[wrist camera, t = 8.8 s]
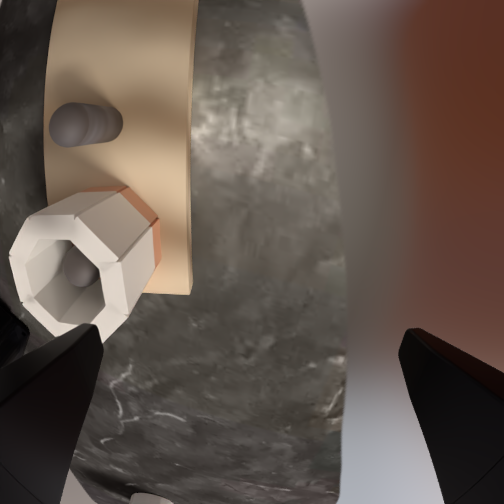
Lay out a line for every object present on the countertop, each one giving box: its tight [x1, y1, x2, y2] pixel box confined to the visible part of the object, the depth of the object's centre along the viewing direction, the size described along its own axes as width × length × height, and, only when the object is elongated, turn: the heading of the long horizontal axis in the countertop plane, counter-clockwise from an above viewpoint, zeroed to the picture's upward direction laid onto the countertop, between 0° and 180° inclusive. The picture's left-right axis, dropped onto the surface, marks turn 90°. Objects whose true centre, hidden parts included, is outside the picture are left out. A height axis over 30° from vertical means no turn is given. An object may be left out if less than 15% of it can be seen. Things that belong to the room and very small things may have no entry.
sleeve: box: [9, 186, 162, 343], centre depth 14 cm, size 6×6×6 cm
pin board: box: [44, 0, 199, 295], centre depth 13 cm, size 20×9×6 cm, turn 178°
